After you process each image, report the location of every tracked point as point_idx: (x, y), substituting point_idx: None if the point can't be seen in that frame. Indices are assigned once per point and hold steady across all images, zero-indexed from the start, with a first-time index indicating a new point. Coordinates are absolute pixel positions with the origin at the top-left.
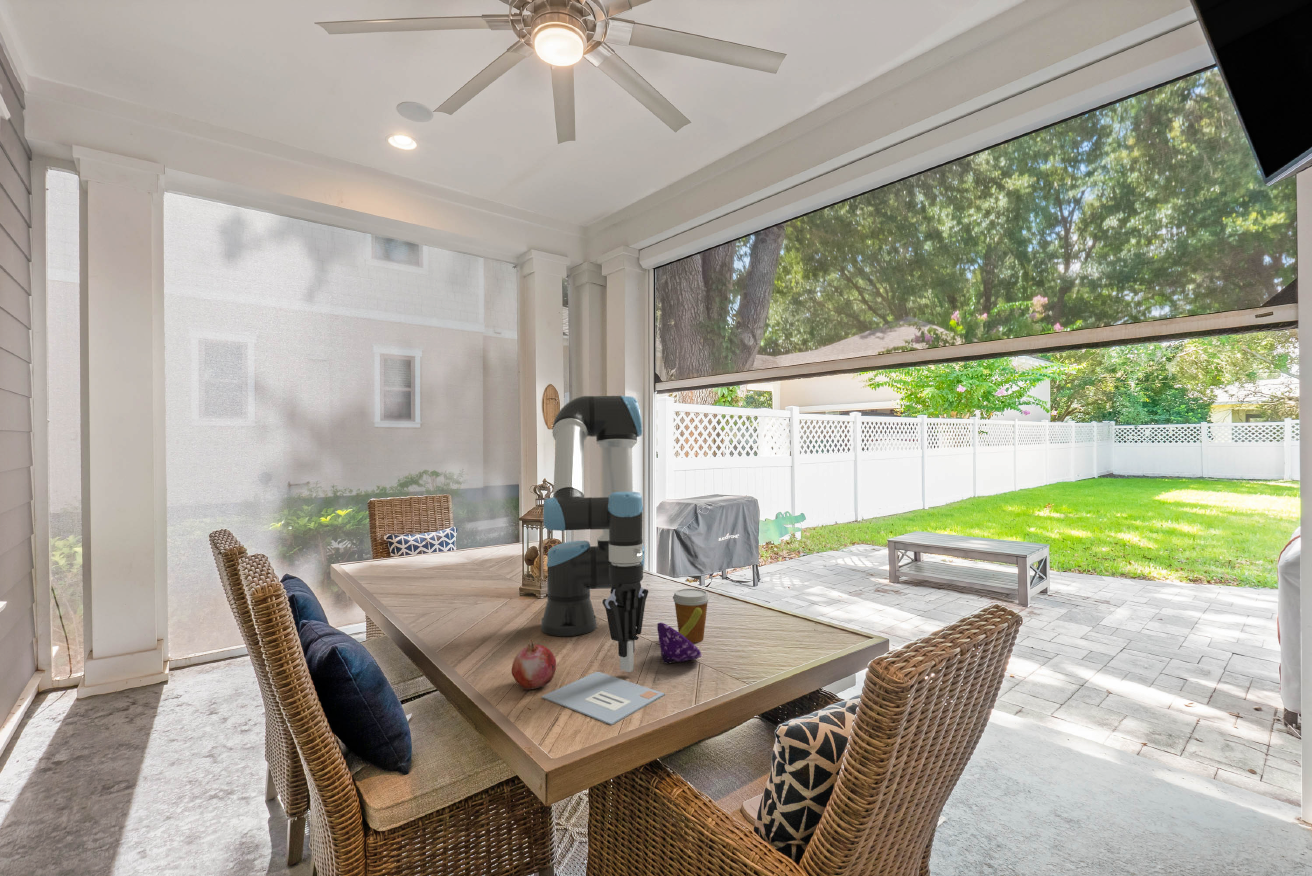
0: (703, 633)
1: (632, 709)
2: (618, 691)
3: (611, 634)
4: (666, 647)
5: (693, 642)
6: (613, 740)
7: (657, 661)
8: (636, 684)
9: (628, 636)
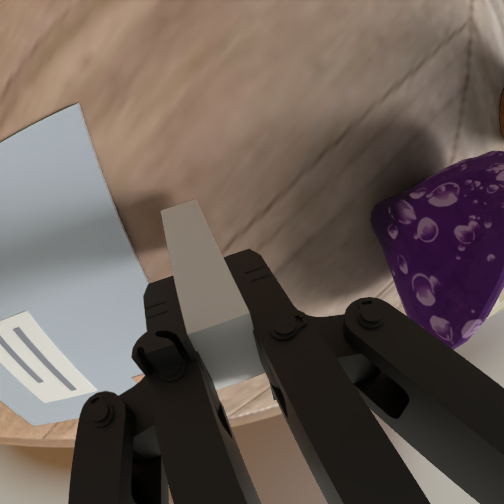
0: None
1: None
2: (81, 336)
3: (82, 457)
4: (404, 273)
5: (502, 133)
6: (33, 443)
7: (377, 164)
8: None
9: (265, 365)
